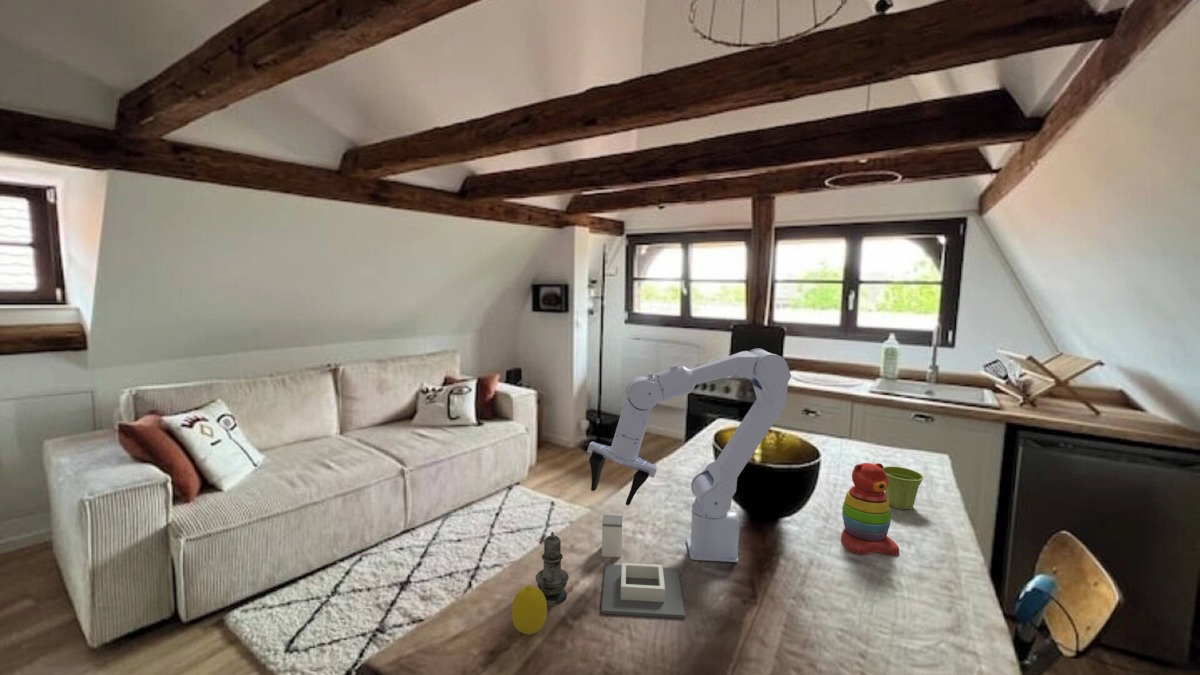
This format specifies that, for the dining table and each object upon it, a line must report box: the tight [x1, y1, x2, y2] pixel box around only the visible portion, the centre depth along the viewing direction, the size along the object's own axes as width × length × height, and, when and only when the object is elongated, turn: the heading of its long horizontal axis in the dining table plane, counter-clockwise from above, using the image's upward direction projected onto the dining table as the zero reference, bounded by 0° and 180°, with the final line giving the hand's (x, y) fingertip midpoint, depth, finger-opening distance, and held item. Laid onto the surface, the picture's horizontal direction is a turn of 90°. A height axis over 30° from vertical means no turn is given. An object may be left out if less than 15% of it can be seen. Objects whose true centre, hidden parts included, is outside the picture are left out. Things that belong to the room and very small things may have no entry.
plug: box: [601, 514, 624, 558], centre depth 104 cm, size 4×4×7 cm
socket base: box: [600, 562, 686, 619], centre depth 91 cm, size 14×14×3 cm
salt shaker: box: [534, 531, 570, 606], centre depth 89 cm, size 6×6×12 cm
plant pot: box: [883, 465, 925, 510], centre depth 130 cm, size 9×9×9 cm
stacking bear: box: [840, 462, 900, 556], centre depth 109 cm, size 11×10×18 cm
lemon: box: [511, 585, 548, 636], centre depth 79 cm, size 6×6×8 cm
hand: (610, 496), depth 104 cm, fingers open, 7 cm apart
